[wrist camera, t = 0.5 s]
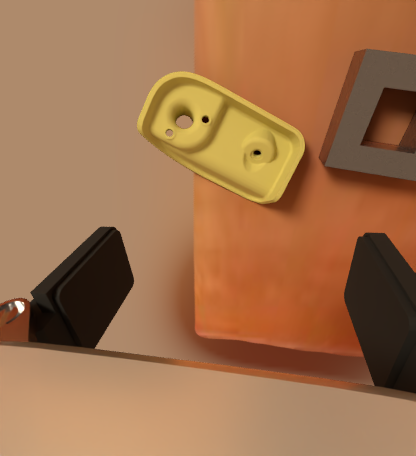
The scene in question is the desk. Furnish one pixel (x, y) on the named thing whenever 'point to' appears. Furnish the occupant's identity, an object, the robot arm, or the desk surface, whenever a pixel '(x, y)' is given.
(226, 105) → the plastic component
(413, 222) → the desk surface
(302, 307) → the desk surface
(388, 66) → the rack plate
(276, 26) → the desk surface
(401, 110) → the desk surface
